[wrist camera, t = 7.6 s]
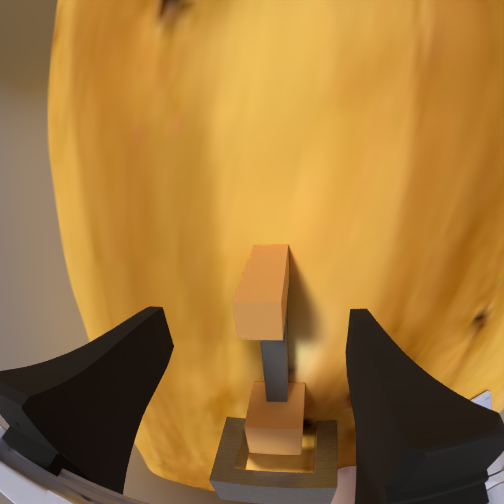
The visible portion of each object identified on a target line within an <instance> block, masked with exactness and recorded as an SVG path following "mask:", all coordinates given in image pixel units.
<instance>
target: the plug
mask: <svg viewBox="0 0 504 504" xmlns="http://www.w3.org/2000/svg"><path fill="white" fill-rule="evenodd" d="M289 276H290V275H289V252H288V244H285V245H253V248H252V251H251V253H250V256H249V258H248V261H247V264H246V266H245V269H244V272H243V274H242V277H241V279H240V282H239V285H238V287H237V290H236V292H235V295H234V298H233V300H232V306H233V312H234V319H235V326H236V332H237V339H244V340H261V350H262V360H263V370H264V380H265V382H254V383H253V388H252V393H251V397H250V402H249V407H248V411H247V416H246V421H245V425H244V429H245V433H246V438H247V443H248V447H249V452H250V453H261V454H280V455H301V449H302V434H303V417H304V396H305V383H289V365H288V329H287V297H288V286H289Z"/></svg>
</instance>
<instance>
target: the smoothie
mask: <svg viewBox="0 0 504 504" xmlns="http://www.w3.org/2000/svg"><path fill="white" fill-rule="evenodd" d="M355 488H356V466H347V467H343V468H340V469H338V487H337V490H336V492H335V495H334V497H333V500H332V502H331V504H354V503H355Z"/></svg>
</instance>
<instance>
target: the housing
mask: <svg viewBox="0 0 504 504" xmlns="http://www.w3.org/2000/svg"><path fill="white" fill-rule="evenodd" d="M245 421H246V419H241V418H230V417H227V418H226V422H225V426H224V429H223V433H222V436H221V440H220V444H219V447H218V451H217V454H216V458H215V462H214V465H213V469H212V472H211V476H210V479H209V481H210V482H211V484H212V486H213V488H214V489H215V491H216V493H217V494H218V496H219V498H220V499H225V500H232V501H240V502H249V503H260V504H331V502H332V500H333V497H334V495H335V492H336V490H337V487H338V460H337V421H317V427H316V435H315V443H314V459H313V473H291V472H268V471H254V470H245V469H246V464H247V460H248V455H249V447H248V443H247V438H246V433H245V429H244V425H245Z"/></svg>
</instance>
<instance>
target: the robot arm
mask: <svg viewBox="0 0 504 504" xmlns="http://www.w3.org/2000/svg"><path fill="white" fill-rule="evenodd" d="M173 348H174V345H173V341H172V338H171V335H170V331H169V328H168V325H167V321H166V317H165V314H164V310H163V307H151V306H150V307H148V308H146V309H144V310H142V311H140V312H139V313H137V314H135V315H134V316H132V317H131V318H129V319H127V320H126V321H124V322H123V323H121V324H120V325H118V326H116V327H115V328H113V329H112V330H110V331H108V332H107V333H105V334H103V335H102V336H100V337H98V338H97V339H95V340H93V341H91V342H90V343H88V344H86V345H84V346H82V347H80V348H78V349H76V350H74V351H71V352H69V353H67V354H64V355H62V356H59V357H56V358H54V359H51V360H48V361H45V362H42V363H39V364H35V365H31V366H27V367H22V368H17V369H11V370H4V371H0V414H1V416H2V417H3V418H4V419H5V421H6V422H7V423H8V424H9V425H10V427H9V428H8V430H6V429H5V428H4V427H3V426H1V425H0V492H2V493H3V494H4V495H5V496H6V497H7V498H8V499H10V500H11V501H12V502H13V503H14V504H92V503H93V504H148V503H145V502H142V501H139V500H136V499H133V498H130V497H127V496H125V495H123V489H124V483H125V478H126V472H127V467H128V463H129V458H130V455H131V451H132V447H133V444H134V441H135V437H136V434H137V431H138V428H139V425H140V422H141V420H142V417H143V414H144V412H145V410H146V408H147V406H148V404H149V402H150V400H151V398H152V396H153V394H154V392H155V390H156V388H157V386H158V384H159V382H160V380H161V378H162V376H163V374H164V372H165V370H166V368H167V366H168V363H169V360H170V357H171V354H172V351H173ZM346 367H347V378H348V383H349V389H350V395H351V401H352V407H353V413H354V420H355V428H356V488H355V503H354V504H504V423H503V421H502V418H501V416H500V415H499V413H498V412H495V411H493V410H492V401H491V392H490V391H489V390H488V391H486V392H484V393H482V394H481V395H479V396H477V397H475V398H474V399H472V400H468V399H467V398H465V397H463V396H461V395H459V394H457V393H456V392H454V391H452V390H451V389H449V388H448V387H446V386H445V385H443V384H442V383H440V382H439V381H437V380H436V379H434V378H433V377H432V376H430V375H429V374H428V373H427V372H425V371H424V370H423V369H422V368H421V367H419V366H418V365H417V364H416V363H415V362H414V361H412V360H411V359H410V358H409V357H408V356H407V355H406V354H405V353H404V352H403V351H402V350H401V349H400V348H399V347H398V345H397V344H396V343H395V342H394V341H393V340H392V339H391V338H390V336H389V335H388V334H387V333H386V332H385V331H384V329H383V328H382V327H381V326H380V325H379V323H378V322H377V321H376V320H375V318H374V317H373V316H372V314H371V313H370V312H369V311H368V310H367V309H350V317H349V327H348V336H347V344H346Z"/></svg>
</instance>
